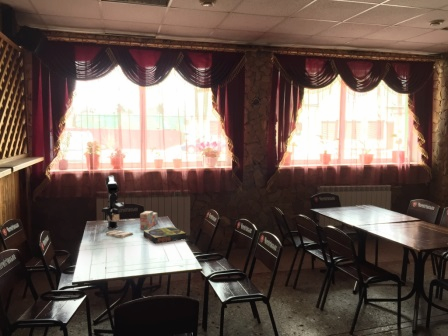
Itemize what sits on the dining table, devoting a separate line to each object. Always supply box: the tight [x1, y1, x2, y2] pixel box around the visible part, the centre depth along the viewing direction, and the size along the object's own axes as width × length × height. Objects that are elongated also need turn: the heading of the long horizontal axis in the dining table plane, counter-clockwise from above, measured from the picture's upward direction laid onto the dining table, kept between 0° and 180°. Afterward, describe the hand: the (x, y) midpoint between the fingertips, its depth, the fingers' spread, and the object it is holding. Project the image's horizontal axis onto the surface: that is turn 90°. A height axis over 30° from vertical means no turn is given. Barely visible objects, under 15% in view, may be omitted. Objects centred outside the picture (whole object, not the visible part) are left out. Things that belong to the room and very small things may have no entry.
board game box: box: [142, 225, 187, 245], centre depth 297 cm, size 24×24×5 cm
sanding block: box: [107, 213, 120, 222], centre depth 309 cm, size 7×4×5 cm, turn 61°
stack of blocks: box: [139, 210, 159, 230], centre depth 335 cm, size 21×6×12 cm, turn 167°
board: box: [105, 229, 134, 239], centre depth 307 cm, size 18×10×2 cm, turn 60°
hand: (113, 219), depth 309 cm, fingers closed on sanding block, 4 cm apart
